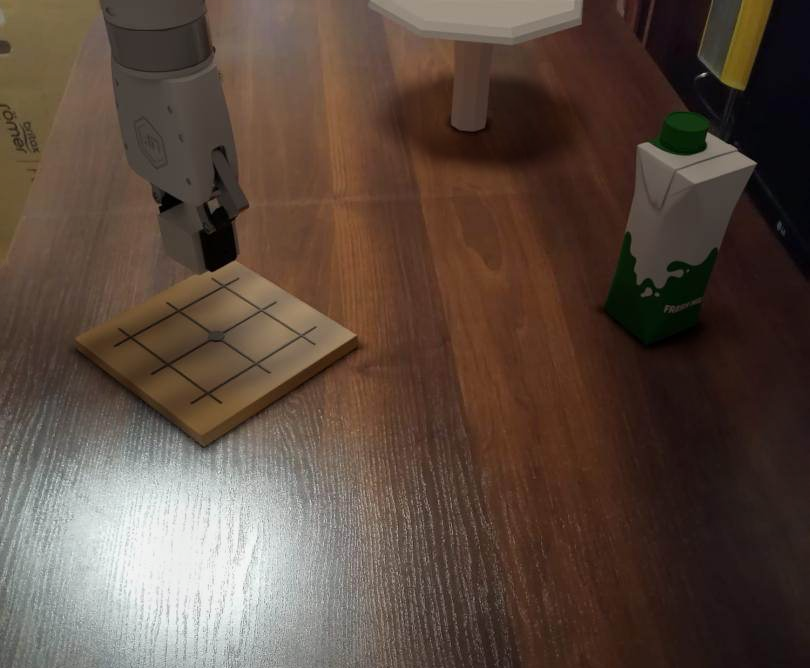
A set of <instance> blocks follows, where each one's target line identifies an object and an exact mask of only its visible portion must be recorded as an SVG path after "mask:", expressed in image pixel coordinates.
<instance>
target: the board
mask: <svg viewBox="0 0 810 668" xmlns="http://www.w3.org/2000/svg"><path fill="white" fill-rule="evenodd" d="M73 340H74V344H75V346H76V349H77V351H78V352H79V353H81V354H82V355H84V357H86V358H88V359H89V360H90V361H91V362H93V363H94V364H95V365H97V366H98V367H99V368H101V369H102V370H103V371H104V372H105V373H107V374H108V375H109V376H111V377H112V378H114V379H115V380H116V381H117V382H119V383H120V384H121V385H122V386H124V387H125V388H127V389H128V390H129V391H130V392H131V393H133V394H134V395H136V396H137V397H138V398H140V399H141V400H142V401H144V403H146V404H147V405H149V406H150V407H151V408H152V409H154V410H155V411H156V412H158V413H159V414H160V415H161V416H163V417H164V418H165V419H166V420H168V421H170V422H171V423H172V424H174V425H175V426H176V427H177V428H179V429H180V430H181V431H182V432H184V433H185V434H186V435H188V436H189V437H190V438H192V439H193V440H194V441H195V442H196V443H198V444H199V445H200V446H202V447H203V448H204V447H207V446H208V445H210V444H211V443H213V442H215V441H216V440H218V439H219V438H220V437H223V435H225V434H226V433H228V432H230V431H231V430H232V429H234V428H236V427H238V426H239V425H241V424H242V423H243V422H245V421H246V420H248V419H250V418H251V417H252V416H254V415H256V414H257V413H259V412H260V411H262V410H263V409H265V408H266V407H268V406H270V405H271V404H273V403H275V401H277V400H279V399H280V398H282V397H283V396H285V395H286V394H288V393H290V392H291V391H293V390H294V389H296V388H297V387H298V386H300V385H302V384H303V383H305V382H306V381H308V380H309V379H311V378H312V377H314V376H315V375H316V374H318V373H320V372H322V371H323V370H324V369H326V368H327V367H329V366H330V365H332V364H333V363H335V362H337V361H338V360H340V359H342V358H343V357H344V356H346V355H347V354H349V353H351V352H352V351H354V350H355V349H356V348H358V346H359V345H358V344H359V343H358V342H359V341H358V340H359V339H358V335H357V334H356V333H355V332H353V331H352V330H350V329H349V328H347V327H345V326H343V325H342V324H340V323H338V322H336V320H333V318H331V317H329V316H327V315H326V314H324V313H322V312H321V311H319V310H317V309H316V308H314V307H313V306H311V305H309V304H308V303H306V302H304V301H303V300H301V299H299V298H297V297H296V296H295V295H293V294H291V293H289V292H288V291H287V290H285V289H283V288H281V287H280V286H278V285H277V284H275V283H273V282H272V281H270V280H269V279H267V278H265V277H264V276H262V275H260V274H258V273H257V272H256V271H253V270H252V269H250V268H249V267H248V266H246V265H244V264H242V263H241V262H240V261H238V260H237V259H236V260H235V261H233V262H231V263H229V264H227V265H226V266H224V267H222V268H220V269H218V270H216V271H214V272H210V271H207V272H205V273H203V274H202V275H200V276H199V275H197V274H196V273H194V274H192V275H191V276H188V277H186V278H185V279H183V280H180V281H179V282H177V283H176V284H175V283H174V284H173V285H172V286H170V287H167V288H166V289H164V290H162V291H160V292H158V293H156V294H155V295H152V296H151V297H149V298H147V299H145V300H143V301H141V302H140V303H137V304H136V305H133V306H132V307H130V308H128V309H126V310H124V311H122V312H121V313H119V314H116V315H115V316H112V317H111V318H110V319H108V320H106V321H103V322H102V323H100V324H98V325H96V326H94V327H92V328H91V329H89V330H87V331H85V332H83V333H81V334H79V335H77V336H76V337H74V338H73Z"/></svg>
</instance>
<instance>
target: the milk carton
mask: <svg viewBox="0 0 810 668" xmlns="http://www.w3.org/2000/svg"><path fill="white" fill-rule="evenodd" d="M709 129H710V121H709V120H708V119H707V117H705V116H704V115H702V114H699V113H696V112H693V111H688V110H676V111H672V112H669V113H668V114H666V115H665V117H664V120H663V124H662V126H661V131H660V133H659V135H657V136H656V137H655V138H653V139H649V140H646V142H642V143H639V144H637V145H636V156H635V157H636V158H635V159H636V160H635V183H634V194H633V198H632V202H631V207H630V210H629V214H628V218H627V223H626V227H625V231H624V235H623V239H622V244H621V248H620V252H619V256H618V261H617V265H616V268H615V272H614V274H613V277H612V281H611V284H610V286H609V290H608V293H607V296H606V299H605V303H604V306H603V310H604V311H605V312H606V313H607V314H608V315H610V316H611V317H612V318H613V319H615V320H616V321H617V322H618V323H619V324H620V325H622V326H623V327H624V328H625V329H626V330H628V332H630V333H631V334H632V335H634V337H636V338H637V339H638V340H639V341H640V342H642V344H644V345H645V346H649V345H651V344H653V343H656V342H658V341H661V340H664V339H666V338H668V337H671V336H673V335H676V334H678V333H681V332H683V331H686V330H688V329H690V328H693V327H695V326H697V325H698V321H699V317H700V313H701V310H702V309H701V308H702V305H703V301H704V298H705V295H706V294H705V293H706V290H707V287H708V284H709V281H710V278H711V275H712V272H713V269H714V267H715V264H716V261H717V257H718V254H719V252H720V249H721V246H722V242H723V241H724V237H725V234H726V231H727V229H728V225H729V223H730V219H731V217H732V214H733V212H734V210H735V208H736V205H737V204H738V202H739V200H740V198H741V196H742V194H743V192H744V190H745V187H746V186H747V184H748V182H749V180H750V178H751V176H752V174H753V173H754V171H755V168H756V167H757V165H758V162H755V160H752V159H751V158H749V157H748V156H746V155H745V154H743V153H741V152H739V149H738V148H736V146H734V145H732V144H729V143H726V141H724V140H722V139H720V138H719V137H717V136H715V135H714V134H711V133H710V132H709Z"/></svg>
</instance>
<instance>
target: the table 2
mask: <svg viewBox="0 0 810 668" xmlns="http://www.w3.org/2000/svg"><path fill="white" fill-rule="evenodd" d="M367 7H368V8H369V9H371V10H373V11H375V12H376V13H378V14H379V15H381V16H383V17H385V18H387V19H388V20H390V21H392V22H393V23H395V24H397V25H398V26H400V27H402V28H403V29H406V30H407V31H408V32H411V33H412V34H414V35H415V36H417V37H419V38H428V39H438V40H449V41H454V42H453V43H454V45H453V47H454V48H453V49H454V76H453V77H454V79H453V87H452V88H453V89H452V99H451V100H452V101H451V114H450V126H452V127H454V128H455V129H457V130H458V131H465V132H476V131H479V130H482V129H485V127H486V123H487V115H488V104H489V95H490V94H489V93H490V92H489V91H490V75H491V67H492V66H491V65H492V60H493V54H494V50H495V49H494V47H495V45H496V44H497V45H507V46H515V45H517V44H521V43H525V42H528V41H530V40H534V39H537V38H541V37H545V36H548V35H551V34H554V33H558V32H560V31H564V30H567V29H571V28H575V27H577V26H580V25H582V24H583V23H582V22H583V12H584V11H583V9H584V0H369V1H368V3H367Z"/></svg>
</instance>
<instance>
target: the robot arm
mask: <svg viewBox="0 0 810 668" xmlns="http://www.w3.org/2000/svg"><path fill="white" fill-rule="evenodd" d="M99 4H100V8H101V12H102V17H103V22H104V25H105V29H106V33H107V37H108V42H109V46H110V50H111V51H110V71H111V78H112V79H111V81H112V90H113V95H114V102H115V108H116V113H117V114H116V115H117V117H118V118H117V119H118V124H119V129H120V134H121V139H122V143H123V148H124V153H125V156H126V161H127V163H128V166H129V167H130V168H131V170H132V171H133V172H134V173H135V174H136V175H137V176H139V177H140V178H142V179H143V180H145V181H147V182H148V183H149V184H150V185H151V195H152V198H153V201H154V202H155V204H157V205H159V206H158V211H159V214H160V213H162V212H164V211H166V210H168V209H171V208H173V207H175V206H177V205H179V204H181V203H183V202H185V203H187V204H189V205H192V206H195V207H196V209H197V212H198V215H199V218H200V221H201V224H202V227H203V229H201V230H200V231H199V235H200V240H201V245H202V251H203V256H204V261H205V266H206V269H207V270H208V271H210V272H214V271H216V270H218V269H220V268H222V267H224V266H226V265H227V264H229V263H231V262H233V261H235V260H236V261H237V258H238V255H237V252H236V245H235V239H234V233H233V227H232V223H233V222H235V223H236V219H237V217H238V216H239V215H240V214H242V213H243V212H246V211H247V210H248V209H249V208H250V203H249V200H248V199H247V197H246V194H245V192H244V191H243V189H242V187H241V185H240V183H239V182H240V171H239V161H238V154H237V147H236V142H235V135H234V131H233V126H232V121H231V117H230V112H229V107H228V104H227V100H226V96H225V93H224V89H223V85H222V82H221V79H220V75H219V72H218V68H217V65H216V63H215V62H214V59H215V54H214V51H213V46H214V45H213V39H212V37H213V36H212V32H211V31H212V30H211V26H210V17H209V12H208V7H207V0H99ZM215 199H216V201H217V205H219V207H218V208H217V209H215V211H214V212H213V213H212V214H211V212H210V209H209V206H208V203H207V202H209V201H213V200H215Z"/></svg>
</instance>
